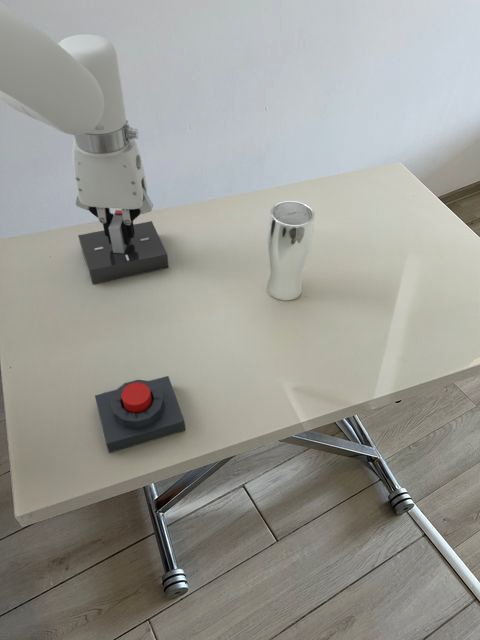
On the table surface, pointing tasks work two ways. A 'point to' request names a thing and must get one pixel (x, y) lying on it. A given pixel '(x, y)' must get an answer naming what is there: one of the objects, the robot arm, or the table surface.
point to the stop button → (136, 397)
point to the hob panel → (123, 254)
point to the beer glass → (288, 247)
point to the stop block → (139, 416)
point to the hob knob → (117, 233)
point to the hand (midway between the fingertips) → (121, 238)
